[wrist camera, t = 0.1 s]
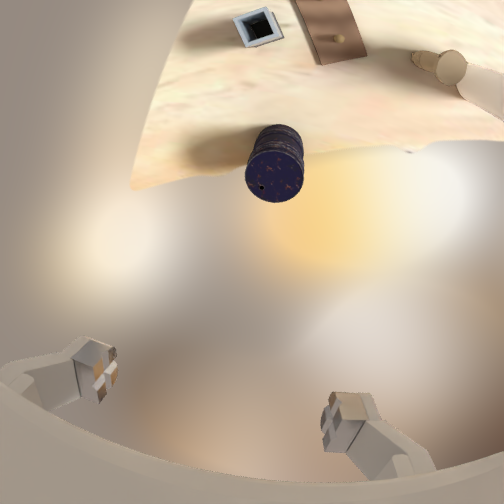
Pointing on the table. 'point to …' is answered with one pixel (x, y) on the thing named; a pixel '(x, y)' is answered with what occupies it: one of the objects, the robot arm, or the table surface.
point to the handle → (442, 65)
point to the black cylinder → (276, 164)
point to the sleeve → (253, 17)
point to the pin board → (332, 30)
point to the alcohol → (483, 89)
